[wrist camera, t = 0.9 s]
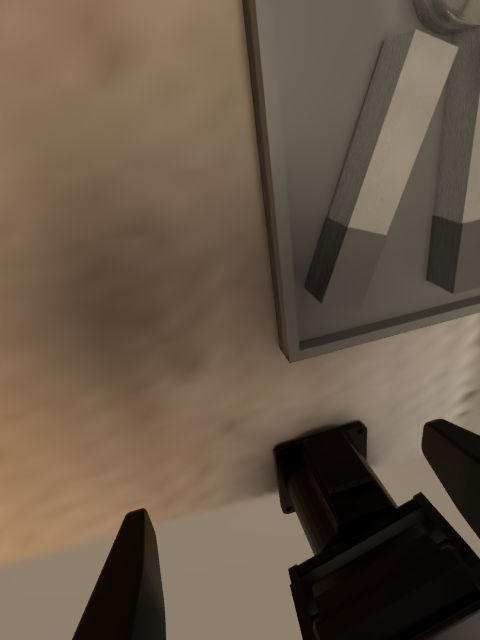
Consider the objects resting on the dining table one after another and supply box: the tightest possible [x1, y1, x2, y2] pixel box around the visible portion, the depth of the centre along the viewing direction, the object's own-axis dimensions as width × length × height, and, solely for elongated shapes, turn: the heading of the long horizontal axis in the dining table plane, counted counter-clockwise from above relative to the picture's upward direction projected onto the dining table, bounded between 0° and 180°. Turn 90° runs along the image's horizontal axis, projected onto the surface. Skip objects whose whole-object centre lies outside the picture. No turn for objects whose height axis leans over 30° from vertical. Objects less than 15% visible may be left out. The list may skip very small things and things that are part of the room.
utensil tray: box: [243, 0, 480, 363], centre depth 17 cm, size 23×14×2 cm, turn 8°
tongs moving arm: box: [304, 29, 459, 309], centre depth 17 cm, size 11×2×2 cm, turn 166°
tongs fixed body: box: [412, 0, 480, 294], centre depth 17 cm, size 18×4×2 cm, turn 8°
